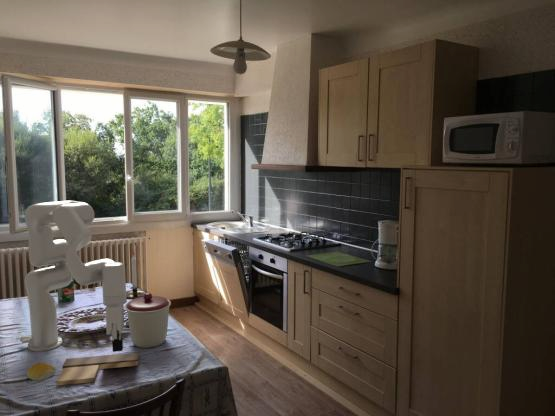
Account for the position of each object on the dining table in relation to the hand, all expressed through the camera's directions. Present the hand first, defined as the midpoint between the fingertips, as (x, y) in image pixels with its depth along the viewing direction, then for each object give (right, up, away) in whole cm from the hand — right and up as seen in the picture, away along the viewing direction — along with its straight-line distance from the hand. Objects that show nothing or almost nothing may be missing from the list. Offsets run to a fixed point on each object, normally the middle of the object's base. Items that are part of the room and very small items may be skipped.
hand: (117, 350), depth 161 cm
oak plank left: (-14, -10, +2) cm, 17 cm away
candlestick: (-9, -4, +51) cm, 52 cm away
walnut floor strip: (-10, -9, +12) cm, 18 cm away
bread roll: (-28, -10, +4) cm, 30 cm away
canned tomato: (-55, +1, +81) cm, 98 cm away
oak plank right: (-1, -7, +5) cm, 9 cm away
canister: (+2, -7, +31) cm, 32 cm away
